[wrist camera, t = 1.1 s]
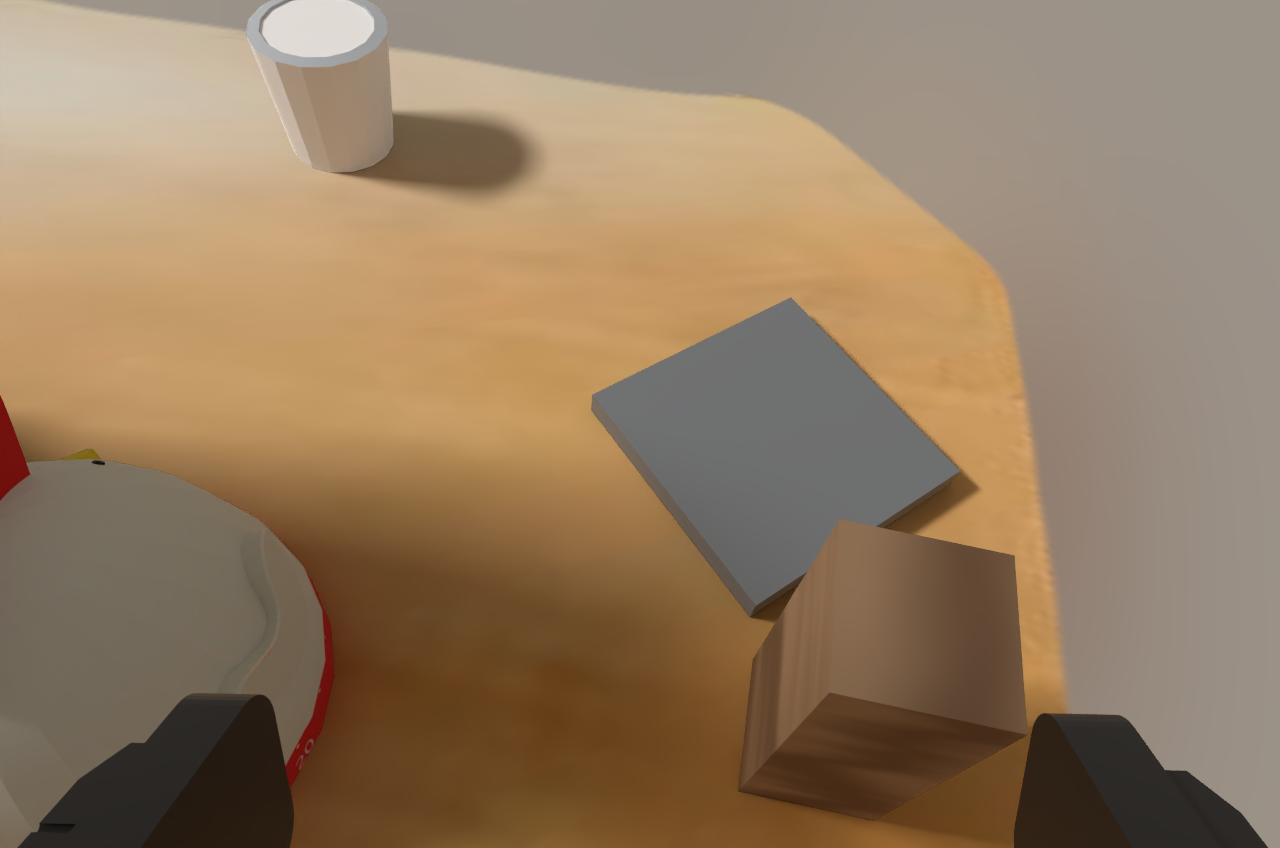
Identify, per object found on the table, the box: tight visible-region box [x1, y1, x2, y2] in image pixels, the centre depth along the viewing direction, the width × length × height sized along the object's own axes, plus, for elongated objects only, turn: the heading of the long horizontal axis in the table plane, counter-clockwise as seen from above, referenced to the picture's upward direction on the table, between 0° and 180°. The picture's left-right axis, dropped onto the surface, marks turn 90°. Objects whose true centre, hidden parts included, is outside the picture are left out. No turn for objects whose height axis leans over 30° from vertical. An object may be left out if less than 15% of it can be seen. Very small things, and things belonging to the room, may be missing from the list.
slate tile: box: [591, 298, 960, 616], centre depth 39 cm, size 12×12×1 cm
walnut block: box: [738, 519, 1027, 820], centre depth 28 cm, size 5×5×12 cm
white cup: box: [246, 0, 394, 173], centre depth 46 cm, size 7×7×7 cm
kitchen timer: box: [0, 396, 334, 848], centre depth 25 cm, size 14×14×15 cm
